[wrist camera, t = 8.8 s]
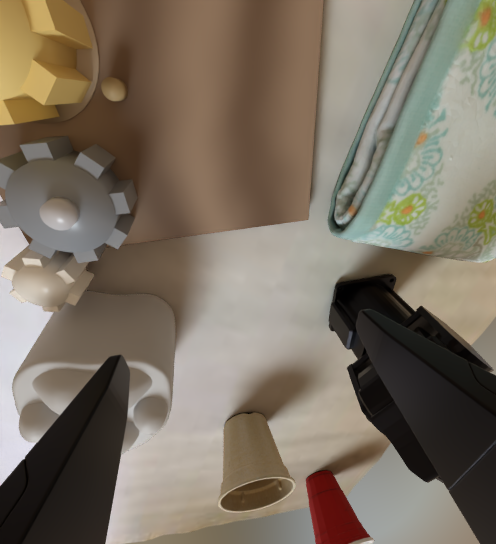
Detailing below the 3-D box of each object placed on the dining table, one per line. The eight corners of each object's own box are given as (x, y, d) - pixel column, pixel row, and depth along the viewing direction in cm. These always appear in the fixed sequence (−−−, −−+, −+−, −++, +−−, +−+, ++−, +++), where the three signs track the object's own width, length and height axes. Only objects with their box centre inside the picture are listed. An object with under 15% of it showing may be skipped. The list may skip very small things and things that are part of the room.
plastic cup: (336, 482, 60) (365, 558, 50) (290, 491, 58) (311, 572, 48) (350, 460, 54) (386, 540, 44) (300, 469, 52) (327, 556, 42)
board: (320, -94, 13) (346, -130, 11) (302, 214, 22) (315, 227, 20) (-150, -98, 11) (-234, -146, 9) (44, 248, 20) (26, 267, 18)
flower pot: (233, 399, 35) (244, 476, 28) (288, 409, 39) (311, 479, 32) (200, 436, 39) (203, 513, 31) (254, 442, 43) (267, 511, 35)
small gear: (64, 227, 18) (40, 250, 16) (107, 274, 21) (92, 300, 18) (13, 251, 19) (-17, 276, 17) (61, 293, 22) (40, 320, 19)
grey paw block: (179, 295, 24) (175, 377, 17) (171, 383, 31) (166, 469, 24) (47, 288, 22) (-22, 383, 15) (69, 387, 28) (29, 485, 21)
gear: (118, 131, 16) (100, 139, 13) (149, 234, 19) (141, 261, 16) (-8, 141, 15) (-59, 154, 12) (50, 247, 19) (22, 278, 15)
